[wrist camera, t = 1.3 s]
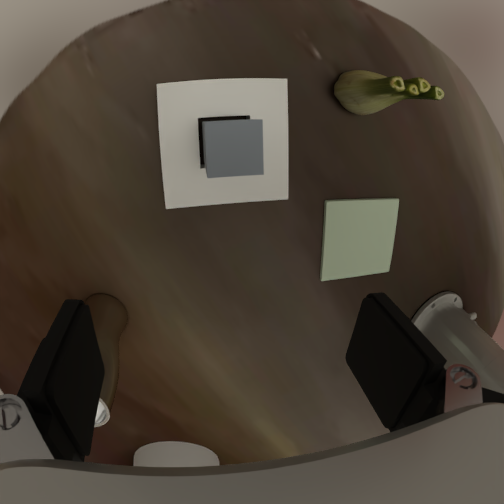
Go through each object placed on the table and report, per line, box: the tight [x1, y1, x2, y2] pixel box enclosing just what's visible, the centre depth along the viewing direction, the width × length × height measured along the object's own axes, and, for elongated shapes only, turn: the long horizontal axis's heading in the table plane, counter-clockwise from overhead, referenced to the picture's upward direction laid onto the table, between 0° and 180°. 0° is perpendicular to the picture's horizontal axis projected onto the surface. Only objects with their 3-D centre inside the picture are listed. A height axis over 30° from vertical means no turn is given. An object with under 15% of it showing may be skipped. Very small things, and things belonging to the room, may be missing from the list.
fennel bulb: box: [334, 70, 444, 115], centre depth 25 cm, size 6×5×12 cm
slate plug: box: [202, 119, 264, 178], centre depth 25 cm, size 4×4×10 cm
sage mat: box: [320, 198, 399, 281], centre depth 37 cm, size 10×10×1 cm
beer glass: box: [84, 294, 128, 427], centre depth 29 cm, size 7×7×15 cm
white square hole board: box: [157, 78, 288, 209], centre depth 29 cm, size 12×12×2 cm
